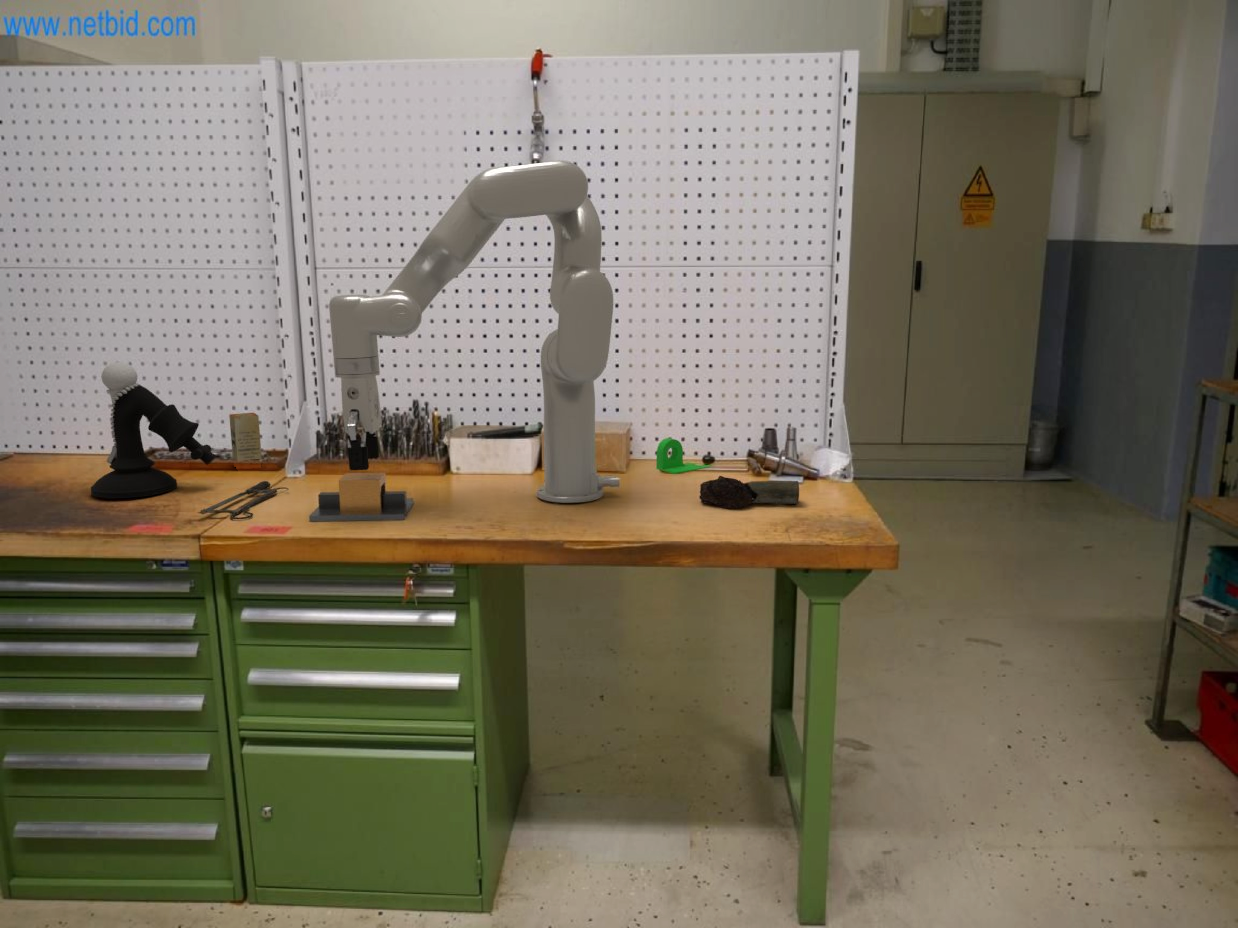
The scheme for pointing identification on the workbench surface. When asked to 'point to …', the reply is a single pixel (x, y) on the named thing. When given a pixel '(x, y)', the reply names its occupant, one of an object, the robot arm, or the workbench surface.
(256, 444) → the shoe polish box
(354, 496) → the tan wooden block
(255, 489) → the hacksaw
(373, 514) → the rail
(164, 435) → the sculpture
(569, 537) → the workbench surface
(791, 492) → the dark elongated piece
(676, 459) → the mechanical part
